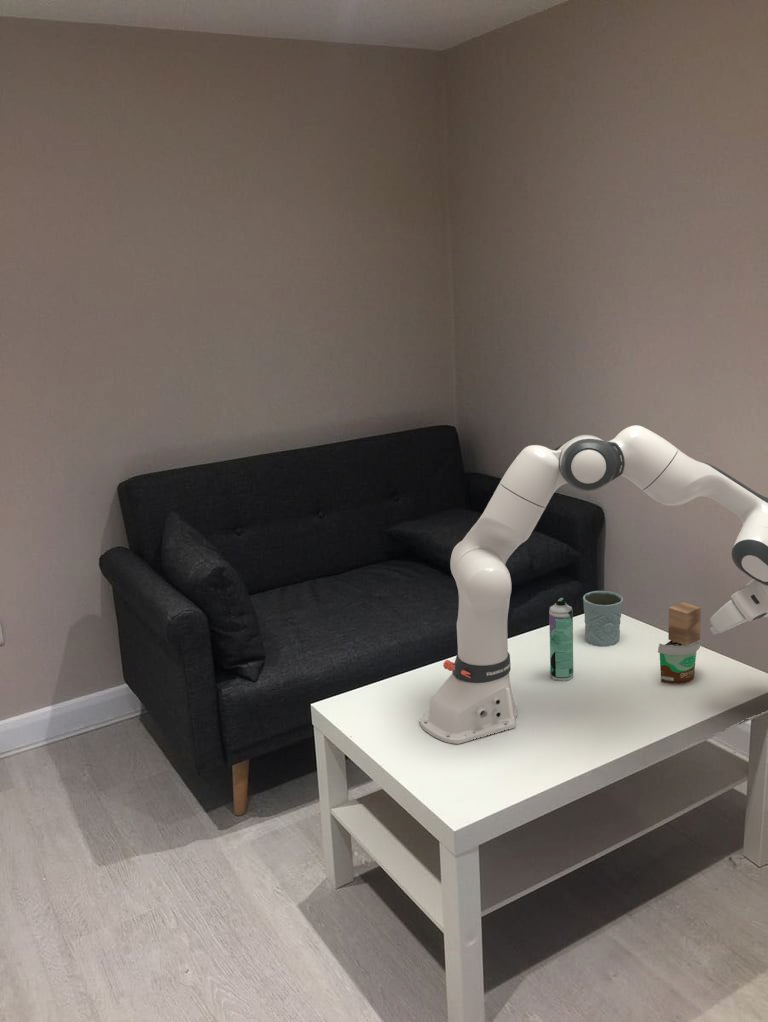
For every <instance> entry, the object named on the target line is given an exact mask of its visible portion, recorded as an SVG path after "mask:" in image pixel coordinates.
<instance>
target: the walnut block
mask: <svg viewBox="0 0 768 1022" xmlns="http://www.w3.org/2000/svg"><path fill="white" fill-rule="evenodd" d="M701 611H702V608H701V607H700V606H696V605H694V604H689V603H687V602H684V601H683V602H679V603H677V604H675V605H672V606H669V607H668V640H669V641H674V642H677V643H680V644H682V645H685V646H687V645H689V644H692V643H694V642H696V641H699V642H700V640H701V619H702V617H701V614H702V612H701Z"/></svg>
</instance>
